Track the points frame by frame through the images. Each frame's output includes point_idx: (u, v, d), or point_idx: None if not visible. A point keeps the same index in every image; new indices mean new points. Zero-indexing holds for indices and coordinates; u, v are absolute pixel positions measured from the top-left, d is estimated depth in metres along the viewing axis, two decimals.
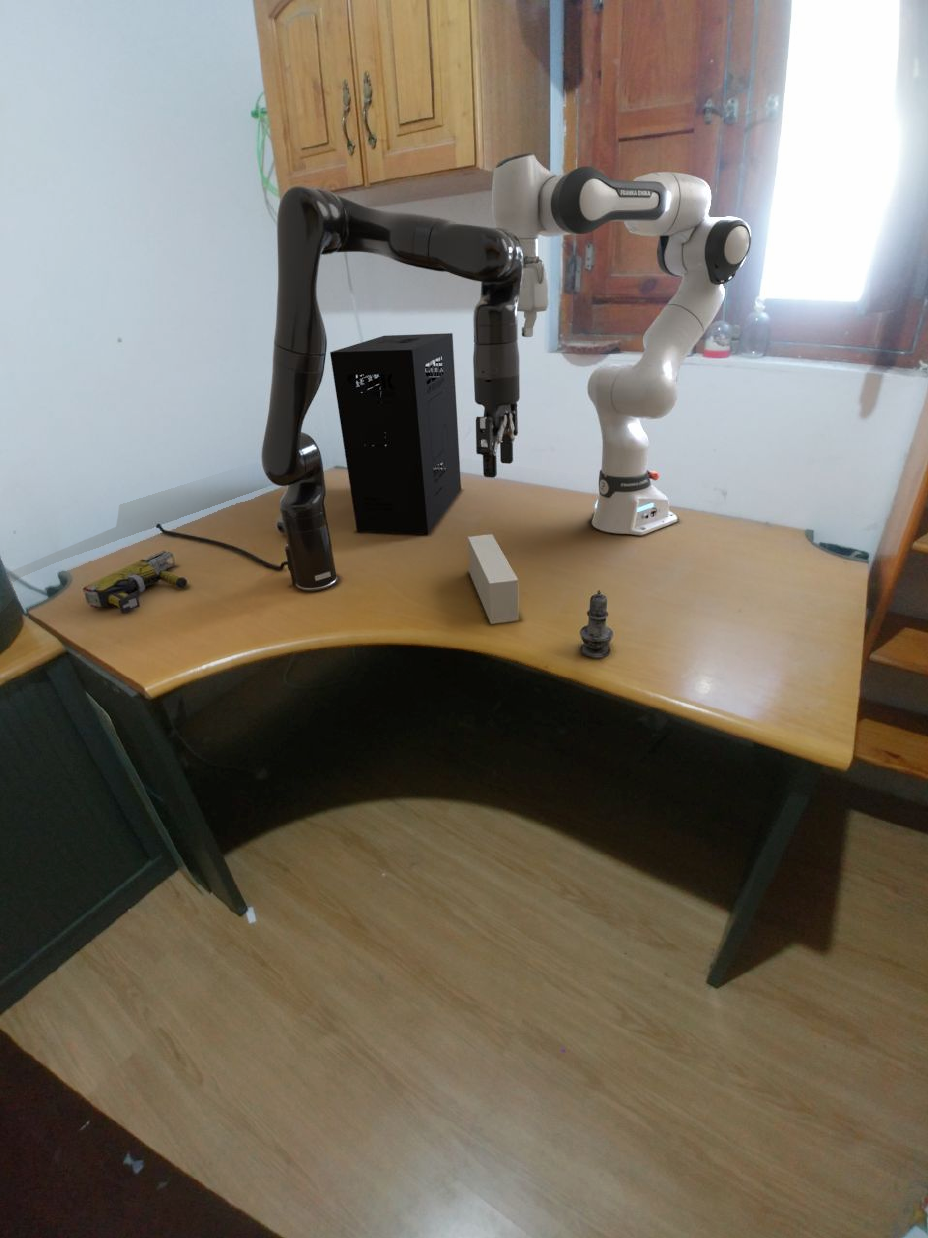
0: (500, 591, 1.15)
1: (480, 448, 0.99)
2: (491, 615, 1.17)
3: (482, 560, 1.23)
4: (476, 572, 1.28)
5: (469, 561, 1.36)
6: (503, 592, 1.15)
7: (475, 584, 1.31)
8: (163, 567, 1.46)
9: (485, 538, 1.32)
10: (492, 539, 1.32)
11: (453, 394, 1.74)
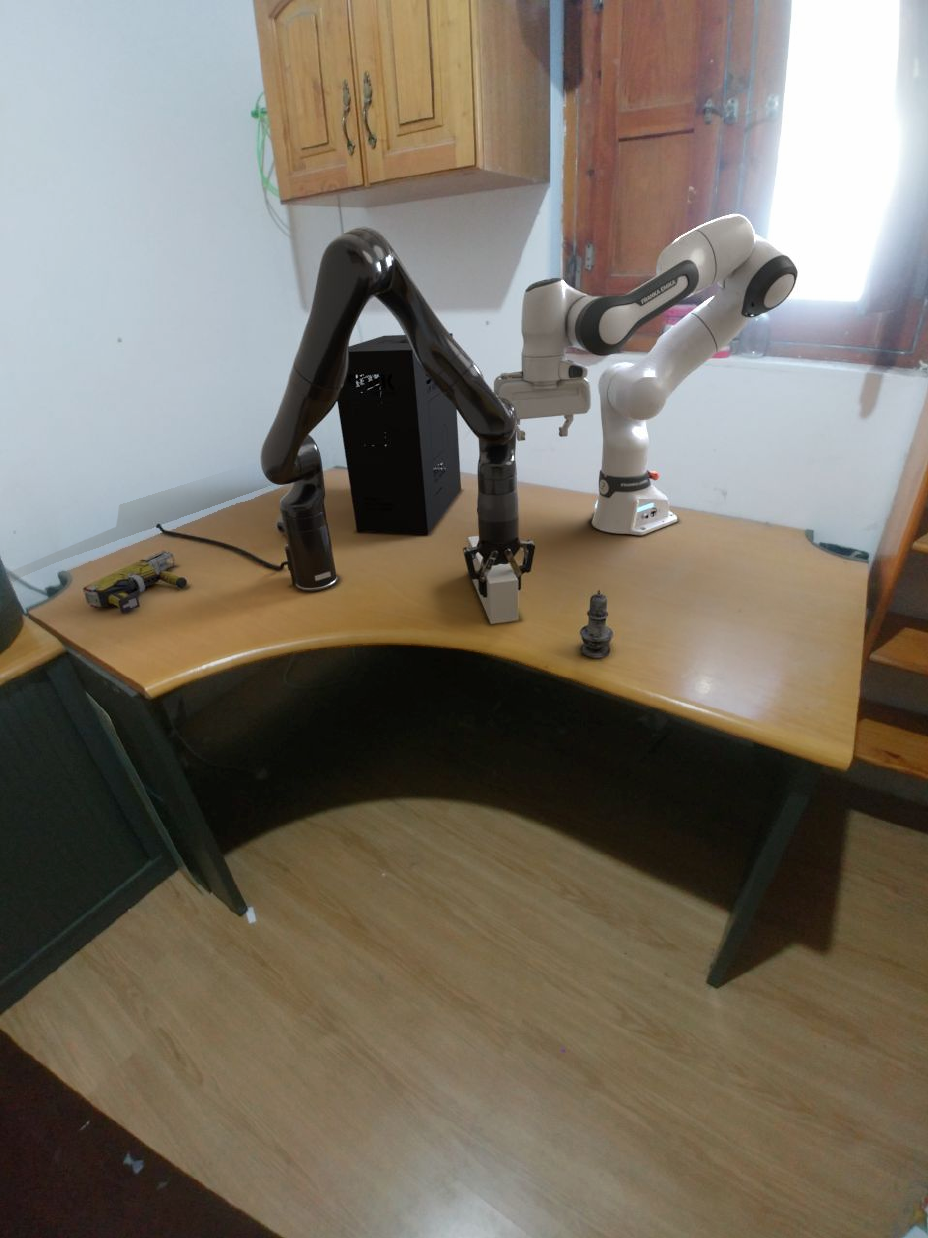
0: (500, 591, 1.15)
1: None
2: (491, 615, 1.17)
3: None
4: None
5: None
6: (503, 592, 1.15)
7: (475, 584, 1.31)
8: (163, 567, 1.46)
9: None
10: None
11: None
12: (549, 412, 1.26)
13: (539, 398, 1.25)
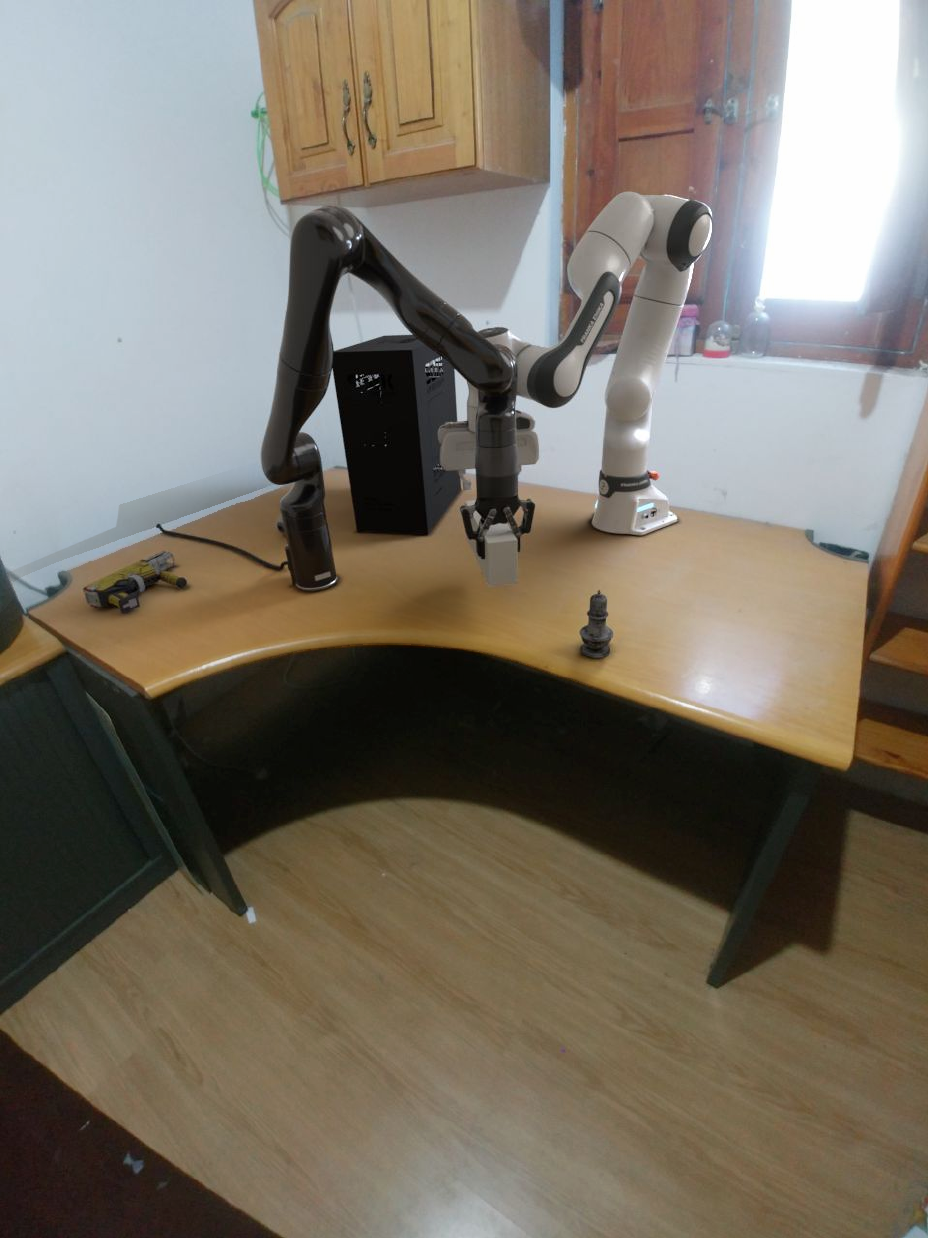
0: (499, 552, 1.11)
1: None
2: (489, 577, 1.13)
3: None
4: None
5: None
6: (502, 552, 1.11)
7: (473, 549, 1.27)
8: (163, 567, 1.46)
9: None
10: None
11: (453, 394, 1.74)
12: None
13: None
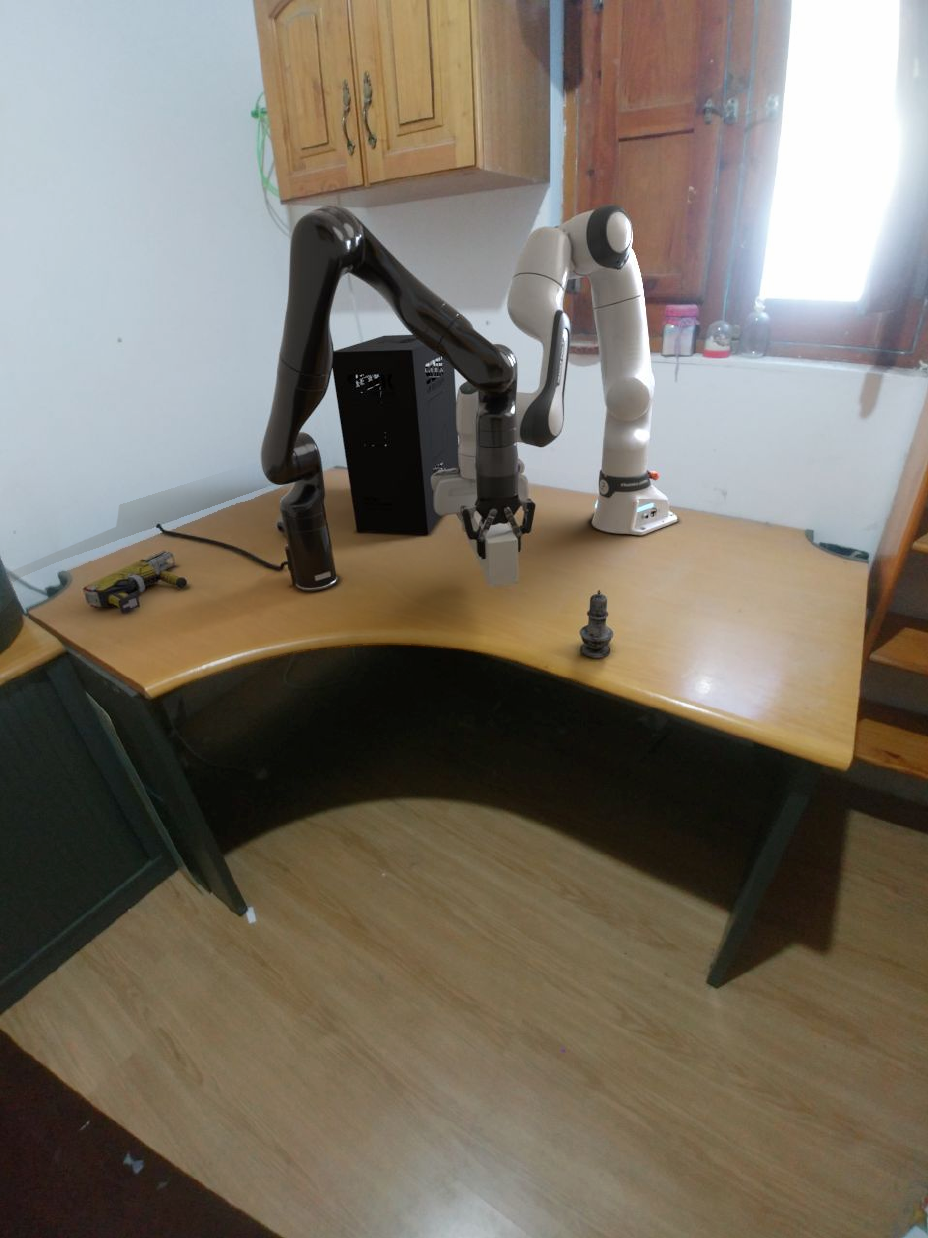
0: (499, 552, 1.11)
1: None
2: (490, 577, 1.13)
3: None
4: None
5: None
6: (502, 552, 1.11)
7: (473, 549, 1.27)
8: (163, 567, 1.46)
9: None
10: None
11: (453, 394, 1.74)
12: None
13: None
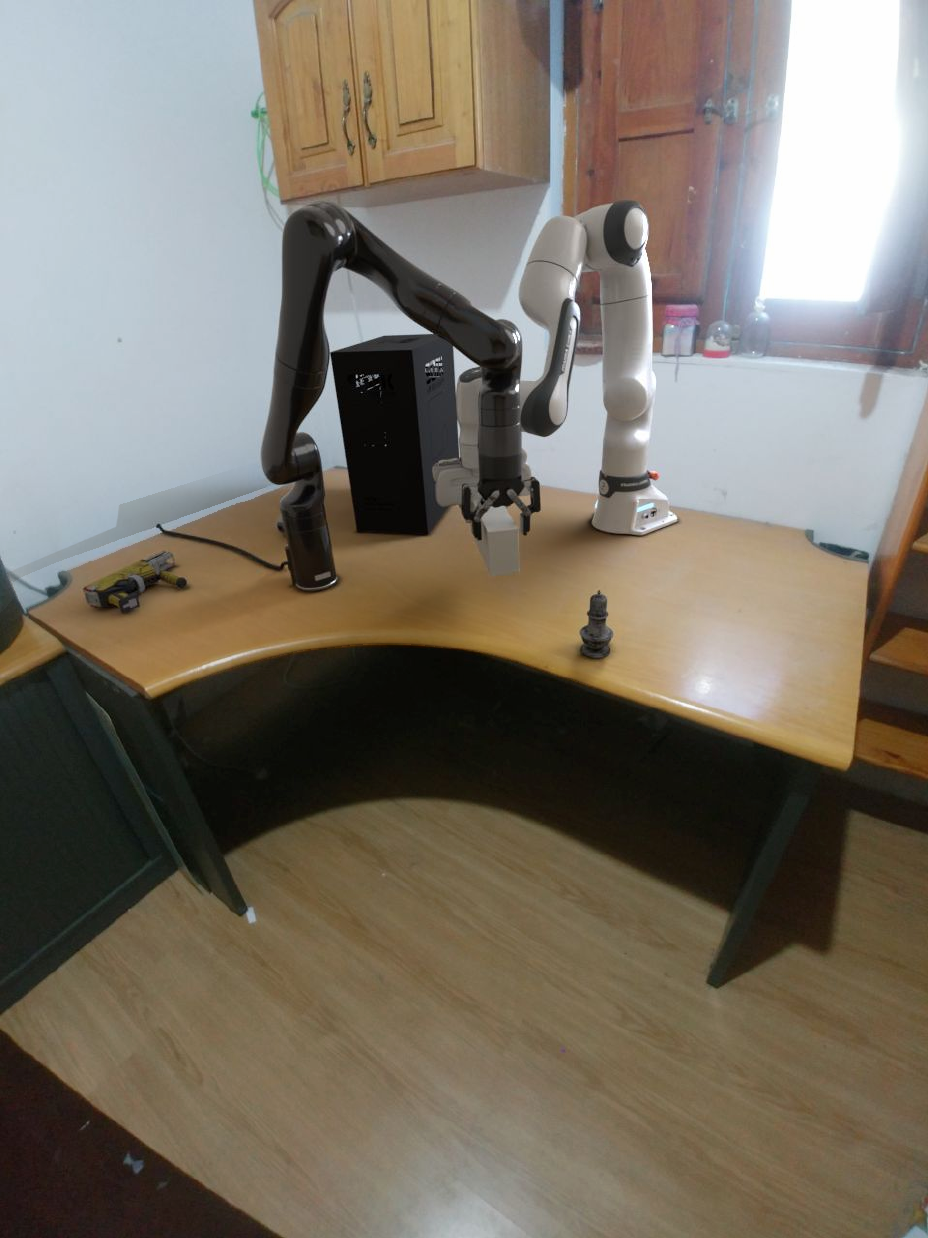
0: (500, 541, 1.09)
1: None
2: (490, 567, 1.11)
3: None
4: None
5: None
6: (503, 542, 1.09)
7: (476, 540, 1.26)
8: (163, 567, 1.46)
9: None
10: None
11: (453, 394, 1.74)
12: None
13: None
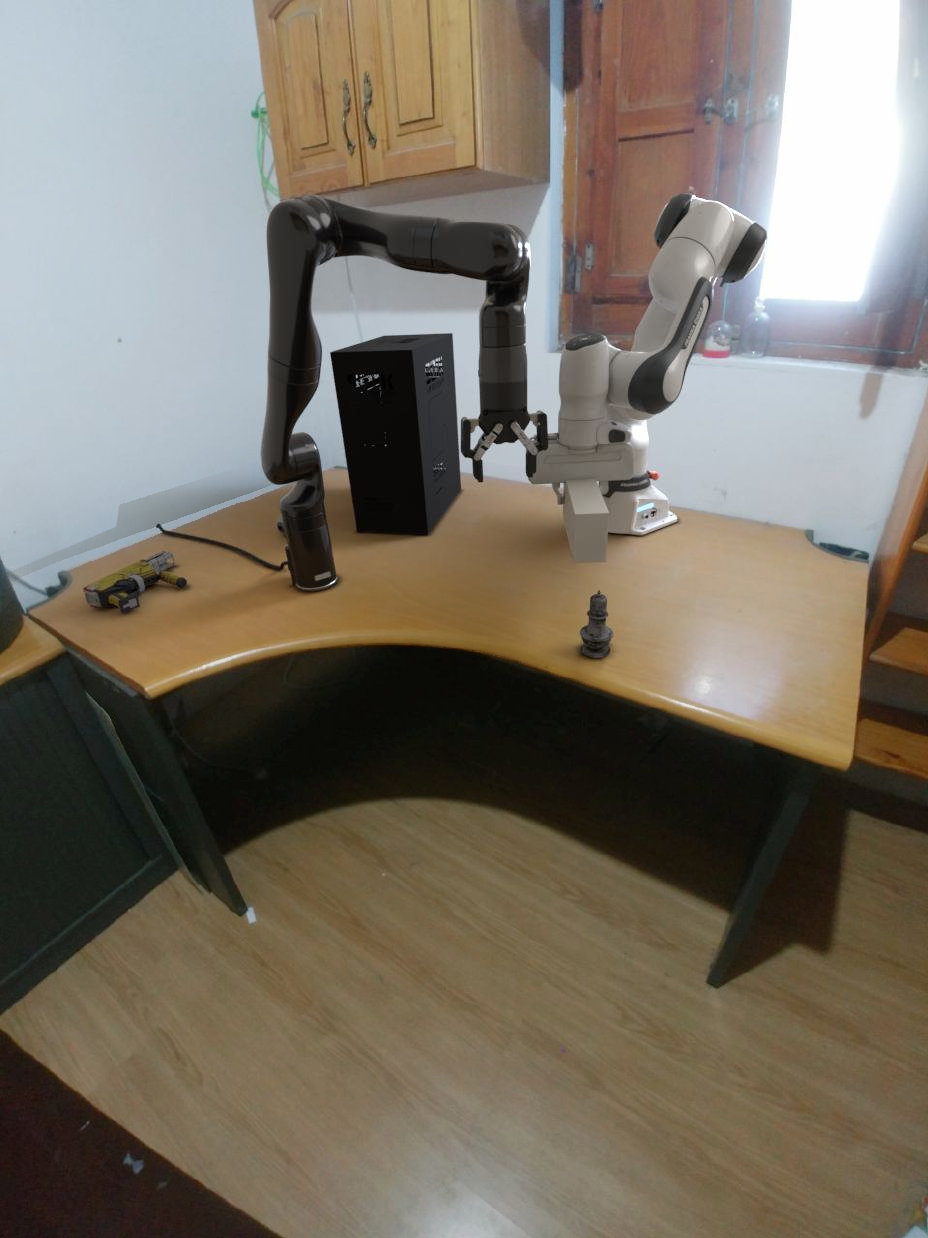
0: (587, 525, 1.00)
1: None
2: (574, 552, 1.03)
3: (573, 492, 1.08)
4: (567, 508, 1.14)
5: None
6: (590, 526, 1.00)
7: (565, 524, 1.17)
8: (163, 567, 1.46)
9: None
10: None
11: (453, 394, 1.74)
12: (586, 477, 1.15)
13: (575, 461, 1.13)
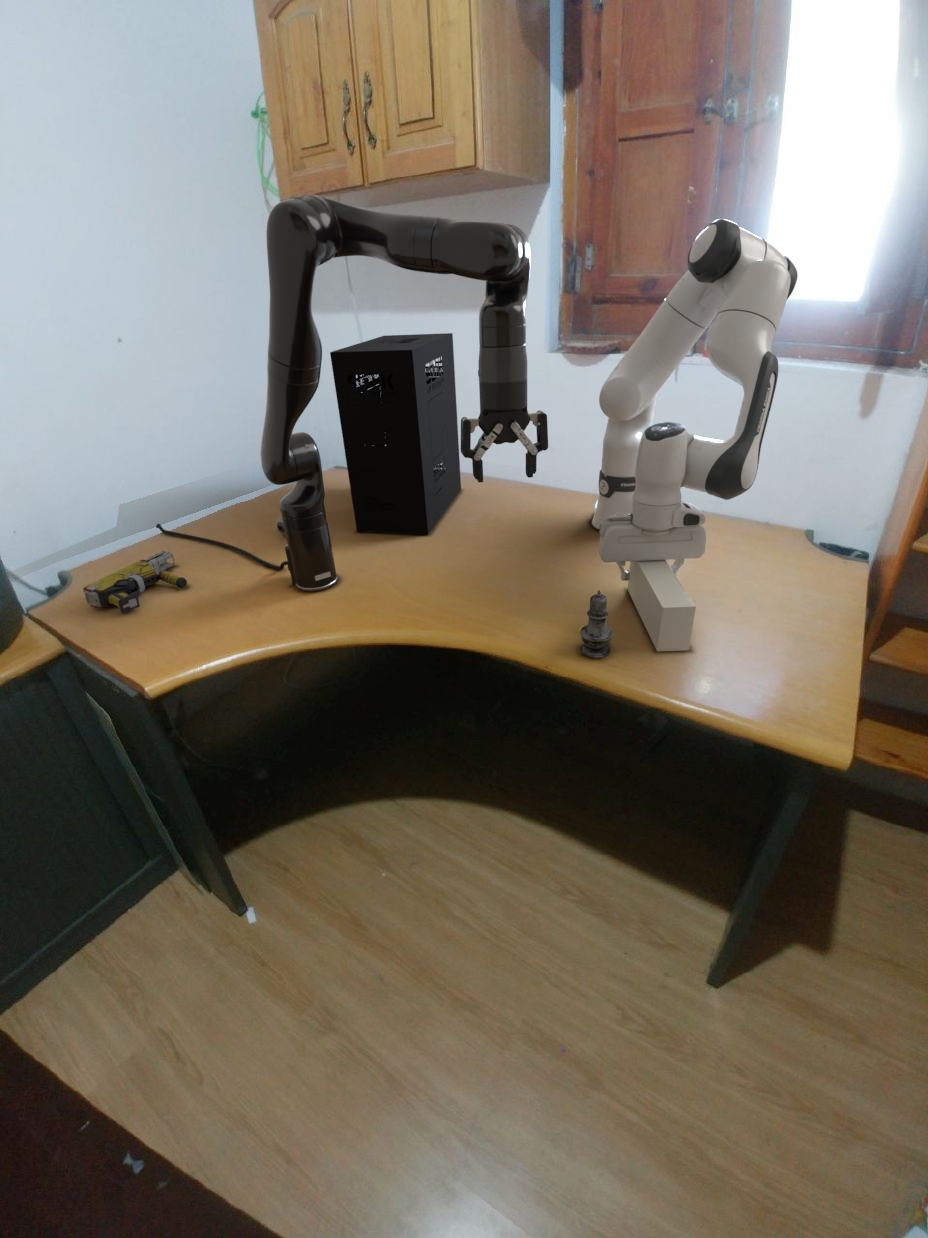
0: (674, 617, 1.03)
1: None
2: (659, 642, 1.06)
3: (651, 579, 1.11)
4: (640, 591, 1.17)
5: (629, 577, 1.25)
6: (677, 618, 1.03)
7: (636, 603, 1.20)
8: (163, 567, 1.46)
9: None
10: None
11: (453, 394, 1.74)
12: (658, 556, 1.17)
13: (648, 541, 1.16)
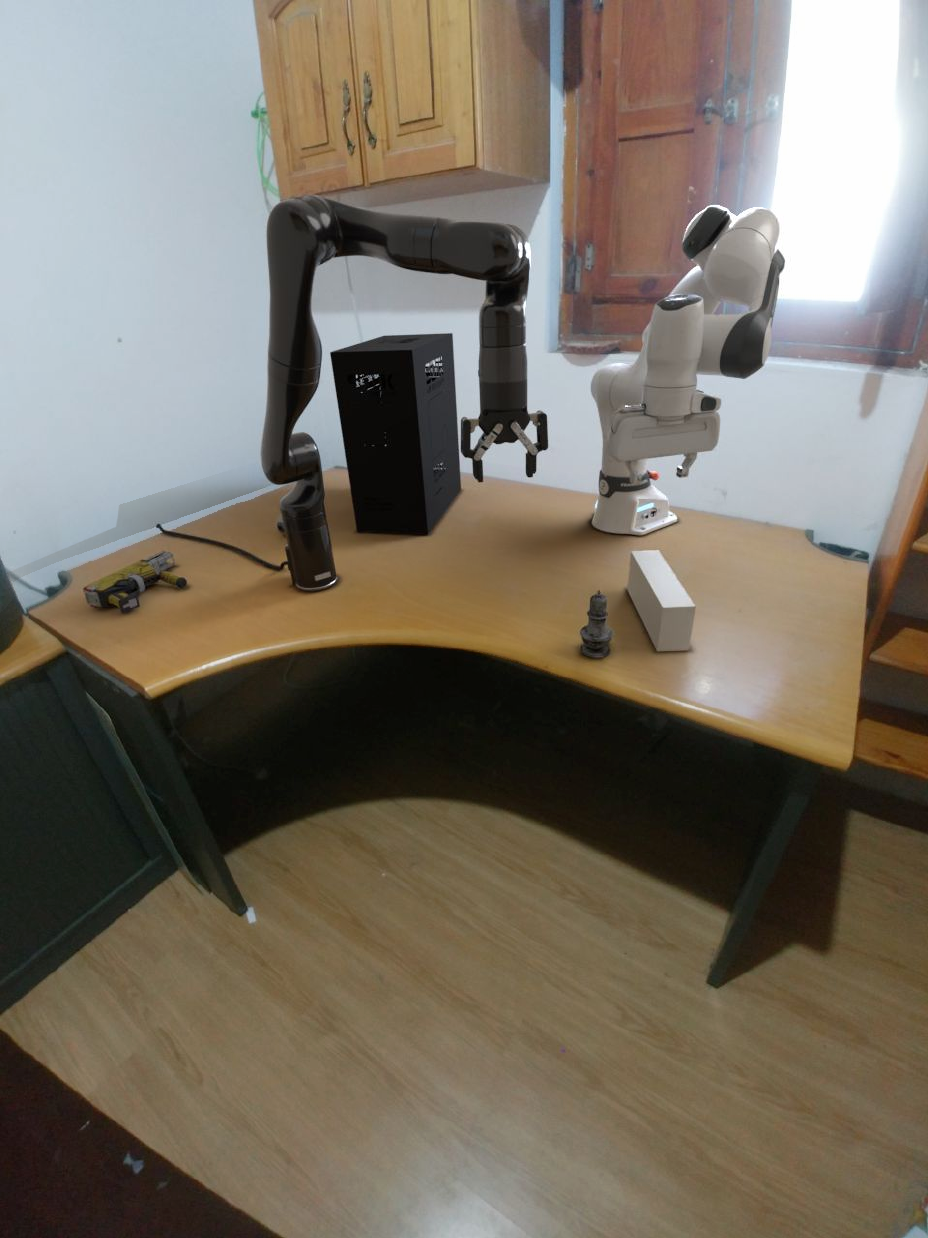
0: (674, 617, 1.03)
1: None
2: (659, 642, 1.06)
3: (651, 579, 1.11)
4: (640, 591, 1.17)
5: (629, 577, 1.25)
6: (677, 618, 1.03)
7: (636, 603, 1.20)
8: (163, 567, 1.46)
9: (651, 554, 1.21)
10: (660, 556, 1.20)
11: (453, 394, 1.74)
12: (672, 451, 1.07)
13: (662, 434, 1.05)
